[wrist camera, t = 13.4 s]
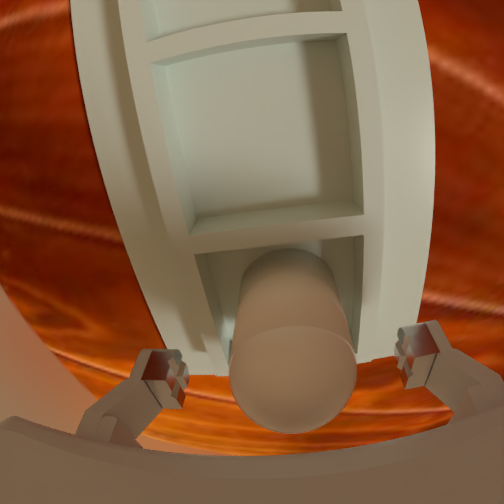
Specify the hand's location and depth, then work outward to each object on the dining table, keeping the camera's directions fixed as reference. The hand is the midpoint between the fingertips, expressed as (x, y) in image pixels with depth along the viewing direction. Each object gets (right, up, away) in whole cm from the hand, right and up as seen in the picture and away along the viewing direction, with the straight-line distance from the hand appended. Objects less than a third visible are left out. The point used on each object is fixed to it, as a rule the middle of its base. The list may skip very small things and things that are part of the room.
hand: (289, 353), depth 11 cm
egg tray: (-1, +8, 0) cm, 8 cm away
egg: (0, +2, +4) cm, 4 cm away
